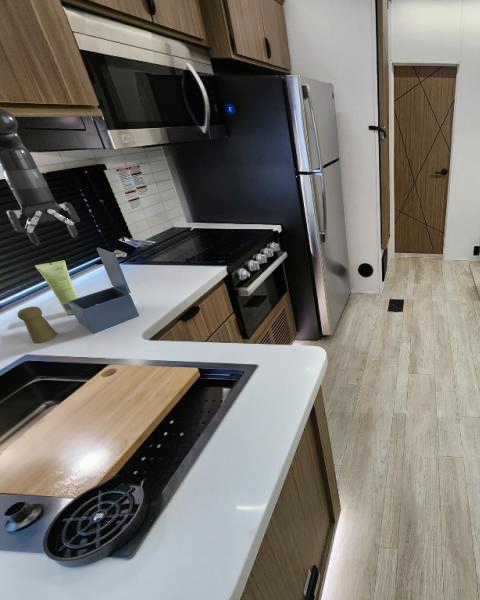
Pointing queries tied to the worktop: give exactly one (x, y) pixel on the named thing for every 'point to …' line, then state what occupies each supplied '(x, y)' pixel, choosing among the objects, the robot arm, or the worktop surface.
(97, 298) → the blue-grey open box
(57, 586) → the worktop surface
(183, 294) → the worktop surface
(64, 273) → the tube
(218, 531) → the worktop surface
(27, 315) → the cork
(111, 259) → the hinged box lid
